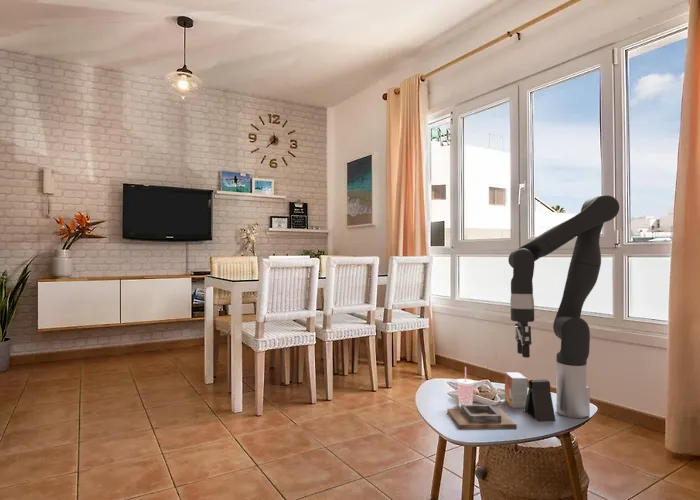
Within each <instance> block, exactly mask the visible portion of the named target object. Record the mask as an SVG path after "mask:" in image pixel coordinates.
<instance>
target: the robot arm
mask: <svg viewBox="0 0 700 500" xmlns="http://www.w3.org/2000/svg"><path fill="white" fill-rule="evenodd" d="M619 212H620V203H619V201H618V200H617V199H616V198H615V197H614V196H612V195H609V194H600V195H596V196H593V197H590V198H588V199H587V200H585V201H584V202H583V204H582V206H581V209H580V212H579V213H577V214H576V215H574V216H572V217H571V218H569V219H566V220H565V221H563V222H560V223H559V224H557V225H556V224H555V226H552V227H551V228H549V229H546V230H545V231H544V232H543V233H541V234H539V235H538V236H536V237H535V238H534V239H533V240H531V241H529V242H527V243H526V244H524V245H522V246H519V247H518V248H516V249H515V250H513V251H512V252H511V253H510V254H509V256H508V259H507V260H508V264H509V266H510V267H511V268H512V269H513V270H512V271H513V272H512V277H511V280H510V321H512V322H515V323H514V326H515V329H514V330H515V338H514V339H515V341H516V344H517V345H516V346H517V347H516V349H517V350H516V351H517V354H520V355H521V357H522V358H527V359H528V358H530V357H531V356H530V355H531V354H530V353H531V351H530V347H531V345H532V331H531V330H532V327H531V325H529V323H532V322H535V302H534V301H535V299H534V287H533V286H534V285H533V277H534V272H535V262H536V261H537V260H539V259H540V258H544V257H546V256H548V255H549V254H552V253H553V252H555V251H556V250H558V249H559V248H561V247H562V246H564V245H566V244H567V243H568V242H570V241H572V240H573V239H574V238H576V240H575V242H574V247H573V251H572V255H571V259H570V262H569V266H568V271H567V276H566V280H565V285H564V288H563V289H564V290H563V292H562V293H563V294H562V298H561V300H560V304H559V307H558V310H557V312H556V315H555V318H554V319H553V320H554V321H553V326H552V329H553V333H554V335H555V336H556V338H558V339H560V351H558V352H557V353H556V359H555V360H556V361H555V362H556V365H555V366H556V376H555V377H556V379H555V380H556V405H555V406H556V412H557V414H559V415H561V416H565V417H568V418H573V419H581V418H582V419H584V418H586V417H590V415H591V413H590V411H591V410H590V408H591V405H590V402H591V401H590V394H591V393H590V387H589V386H587V385H588V384H587V382H588V379H587V377H588V372H587V370H588V369H587V368H588V367H587V366H588V365H587V364H588V362H587V361H588V358H589V355H590V347H591V346H590V345H591V344H590V342H591V341H590V340H591V331H590V326H589V324H588V322H587V321H586V320H584V319H583V318H582V317H581V315H582V309H583V306H584V304H585V301H586V299H587V298H588V296H589V295H590V293H591V292H592V290H593V289H594V287H595V286H596V283H597V281H598V277H599V273H600V270H601V265H602V254H601V249H600V248H601V246H600V238H601V234H602V229H603V226H604V224H605V223H608V222H610V221H612V220H613V219H614V218H616V216H618V214H619Z"/></svg>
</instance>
